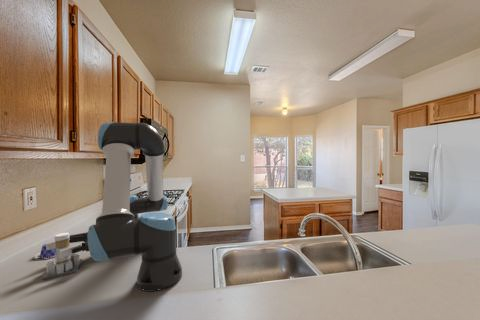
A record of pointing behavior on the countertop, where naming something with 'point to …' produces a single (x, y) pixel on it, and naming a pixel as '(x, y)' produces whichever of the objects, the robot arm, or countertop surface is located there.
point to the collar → (62, 267)
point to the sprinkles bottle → (62, 246)
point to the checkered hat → (46, 252)
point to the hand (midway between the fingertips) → (52, 250)
